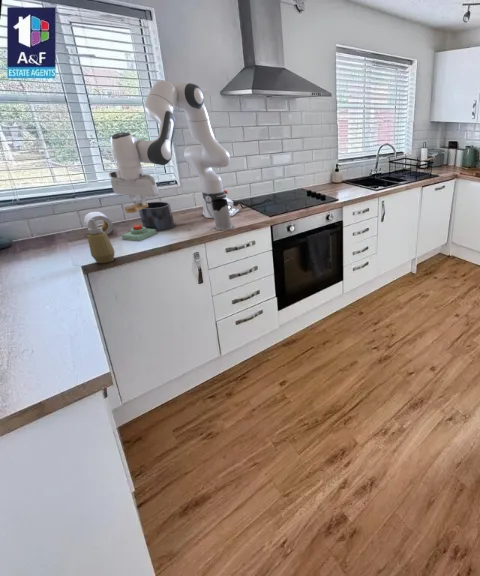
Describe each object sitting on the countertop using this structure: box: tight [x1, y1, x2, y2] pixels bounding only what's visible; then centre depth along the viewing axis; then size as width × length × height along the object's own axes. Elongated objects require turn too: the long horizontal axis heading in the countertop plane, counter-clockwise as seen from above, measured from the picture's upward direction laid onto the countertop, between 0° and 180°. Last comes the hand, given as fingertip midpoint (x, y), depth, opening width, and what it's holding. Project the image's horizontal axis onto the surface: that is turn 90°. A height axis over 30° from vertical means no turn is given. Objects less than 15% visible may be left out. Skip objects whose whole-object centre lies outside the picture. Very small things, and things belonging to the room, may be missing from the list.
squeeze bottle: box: [86, 219, 116, 264], centre depth 152 cm, size 8×8×18 cm
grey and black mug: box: [206, 199, 233, 231], centre depth 198 cm, size 9×14×15 cm, turn 68°
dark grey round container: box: [137, 201, 176, 232], centre depth 195 cm, size 15×15×12 cm
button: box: [132, 224, 143, 230], centre depth 182 cm, size 4×4×2 cm
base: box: [121, 226, 157, 242], centre depth 184 cm, size 12×9×4 cm
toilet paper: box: [83, 211, 114, 236], centre depth 184 cm, size 10×10×10 cm
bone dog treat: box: [124, 201, 149, 214], centre depth 165 cm, size 11×4×2 cm, turn 170°
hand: (140, 204), depth 167 cm, fingers closed on bone dog treat, 2 cm apart
